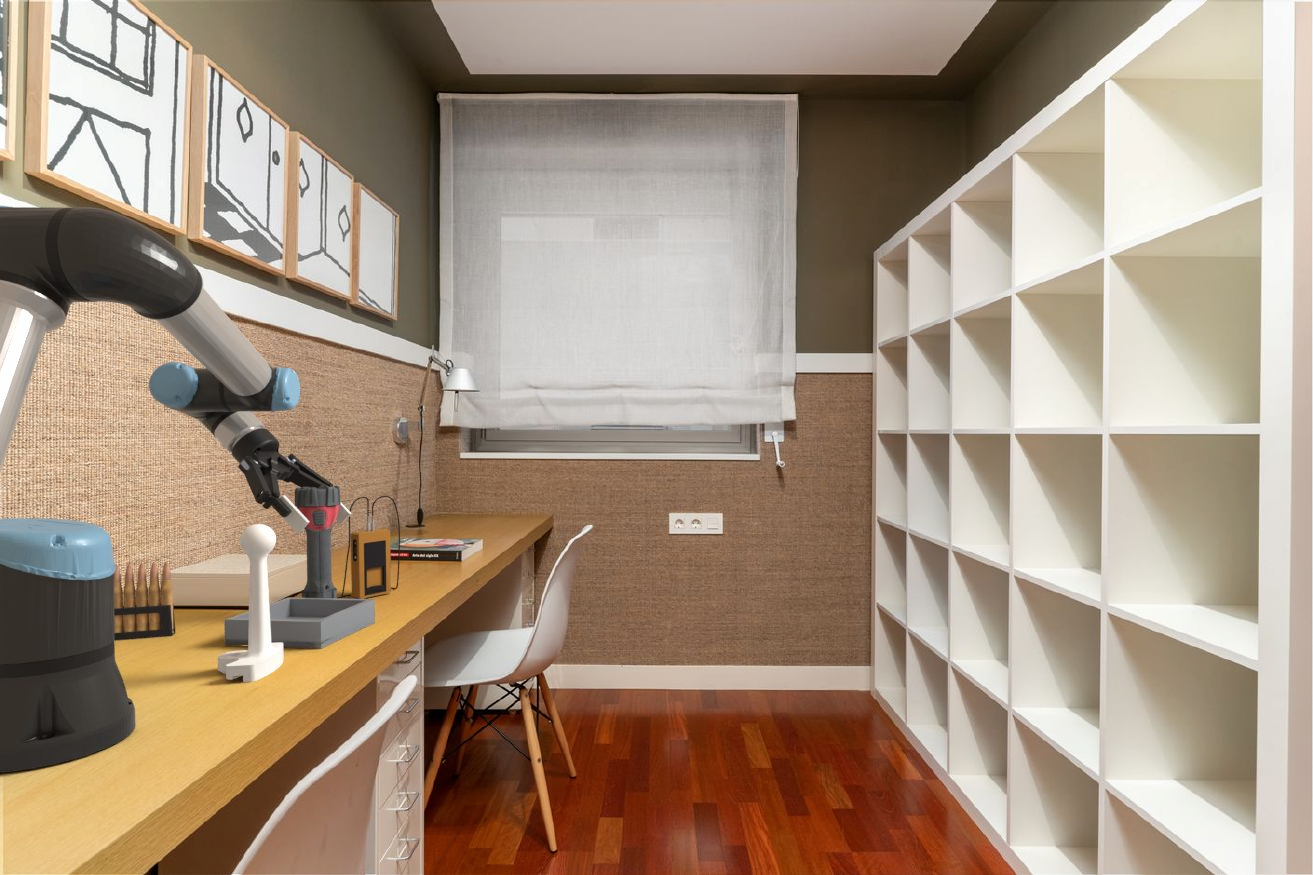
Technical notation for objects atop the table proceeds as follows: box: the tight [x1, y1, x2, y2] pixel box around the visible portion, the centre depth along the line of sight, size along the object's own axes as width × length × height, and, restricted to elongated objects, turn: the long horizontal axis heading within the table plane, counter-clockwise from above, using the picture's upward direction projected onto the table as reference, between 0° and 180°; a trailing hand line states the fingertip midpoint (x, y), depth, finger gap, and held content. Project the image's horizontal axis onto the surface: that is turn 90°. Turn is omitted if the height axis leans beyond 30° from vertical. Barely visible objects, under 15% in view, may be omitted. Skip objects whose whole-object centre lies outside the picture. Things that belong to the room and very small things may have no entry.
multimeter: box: [337, 495, 401, 599], centre depth 157 cm, size 15×10×20 cm
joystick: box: [217, 523, 285, 683], centre depth 107 cm, size 11×8×20 cm
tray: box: [223, 596, 376, 650], centre depth 127 cm, size 16×16×4 cm
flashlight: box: [294, 485, 342, 598], centre depth 141 cm, size 8×8×23 cm
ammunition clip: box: [114, 561, 177, 642], centre depth 126 cm, size 11×2×12 cm, turn 107°
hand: (326, 523), depth 141 cm, fingers open, 13 cm apart
